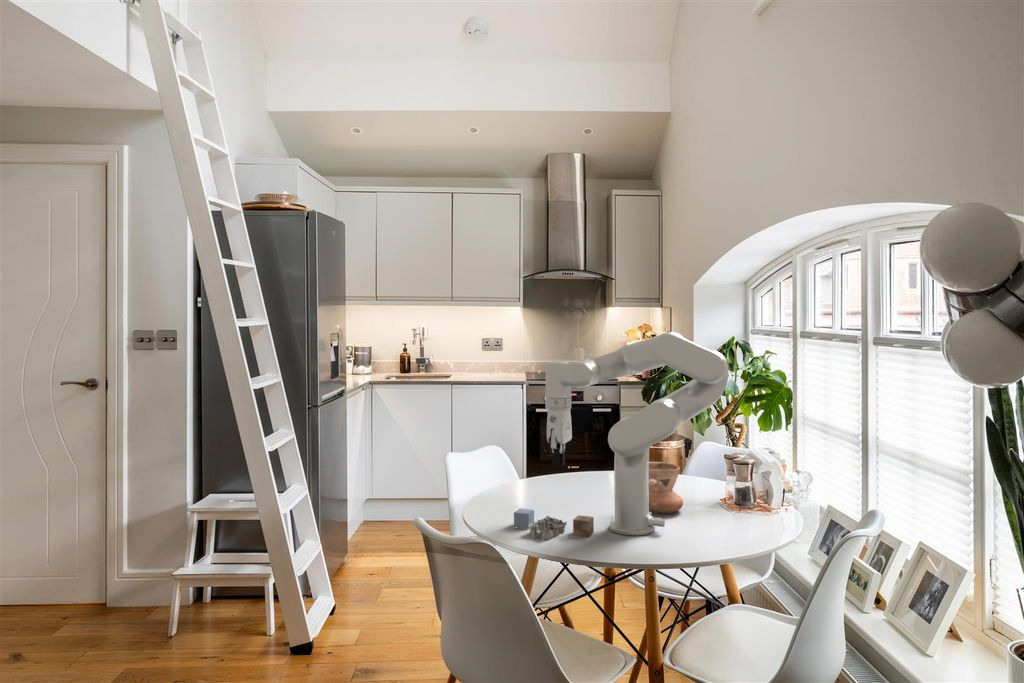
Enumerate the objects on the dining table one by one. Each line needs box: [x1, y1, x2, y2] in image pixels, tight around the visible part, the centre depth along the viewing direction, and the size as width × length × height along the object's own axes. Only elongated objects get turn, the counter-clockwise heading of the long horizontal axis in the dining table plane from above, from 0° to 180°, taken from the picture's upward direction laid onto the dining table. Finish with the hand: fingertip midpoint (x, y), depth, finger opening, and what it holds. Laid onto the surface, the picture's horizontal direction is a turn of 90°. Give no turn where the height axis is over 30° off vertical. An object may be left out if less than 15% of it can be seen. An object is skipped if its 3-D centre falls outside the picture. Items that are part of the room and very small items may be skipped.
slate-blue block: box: [513, 507, 535, 530], centre depth 184 cm, size 4×4×4 cm
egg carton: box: [527, 515, 568, 541], centre depth 177 cm, size 11×8×4 cm
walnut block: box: [572, 514, 595, 538], centre depth 176 cm, size 4×4×4 cm
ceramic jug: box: [649, 461, 684, 515], centre depth 199 cm, size 18×14×14 cm
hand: (558, 465), depth 187 cm, fingers closed
